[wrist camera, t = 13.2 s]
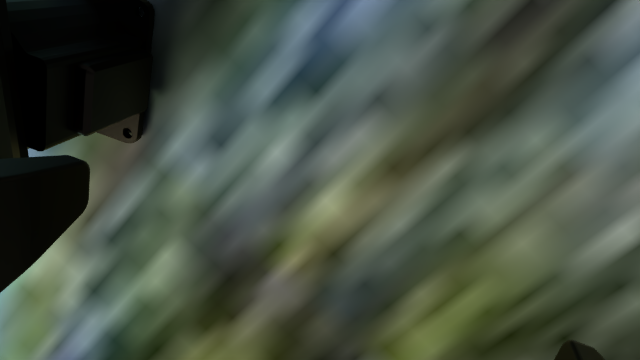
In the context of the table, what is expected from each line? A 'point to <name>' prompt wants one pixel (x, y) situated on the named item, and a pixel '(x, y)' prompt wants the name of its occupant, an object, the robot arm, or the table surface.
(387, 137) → the table surface
